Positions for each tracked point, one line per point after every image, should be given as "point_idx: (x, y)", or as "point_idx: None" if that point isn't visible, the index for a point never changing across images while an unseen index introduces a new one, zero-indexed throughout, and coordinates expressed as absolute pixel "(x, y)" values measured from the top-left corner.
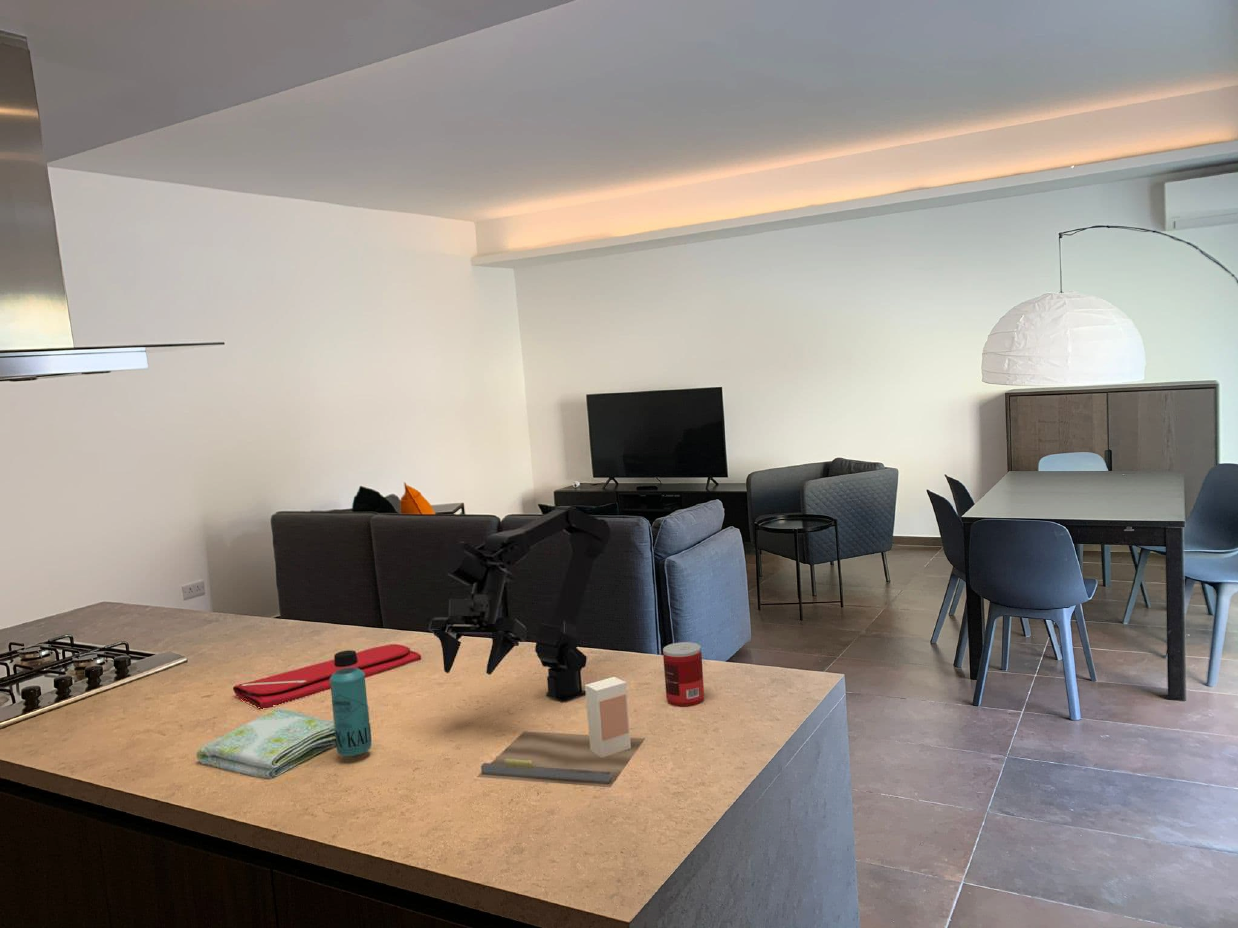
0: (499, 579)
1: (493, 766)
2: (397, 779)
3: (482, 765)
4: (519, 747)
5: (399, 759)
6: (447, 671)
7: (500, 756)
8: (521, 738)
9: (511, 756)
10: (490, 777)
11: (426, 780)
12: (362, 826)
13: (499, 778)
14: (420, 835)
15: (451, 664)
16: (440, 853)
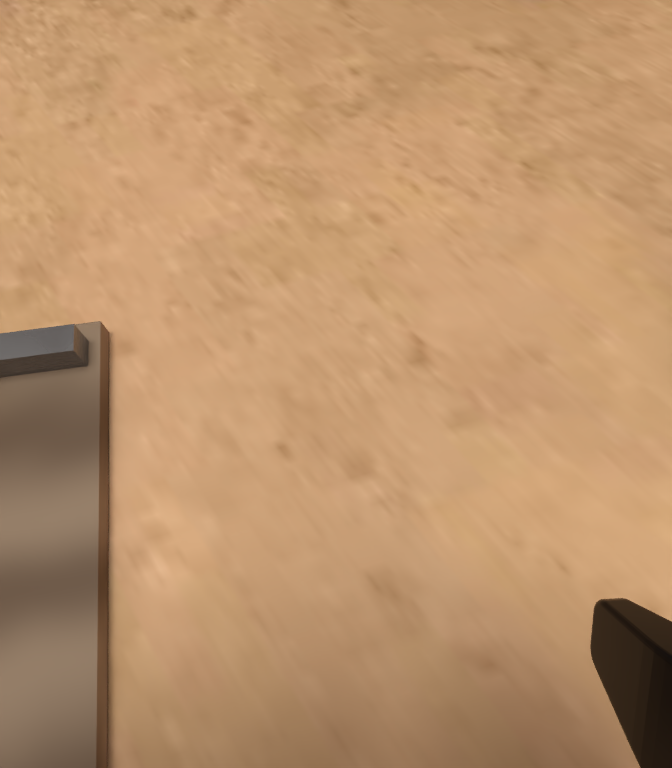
0: None
1: (17, 335)
2: (423, 268)
3: (69, 329)
4: (31, 633)
5: (557, 402)
6: (593, 628)
7: (84, 507)
8: (67, 753)
9: (31, 524)
10: None
11: (310, 291)
12: (304, 46)
13: None
14: (115, 56)
15: (655, 764)
16: (17, 18)
